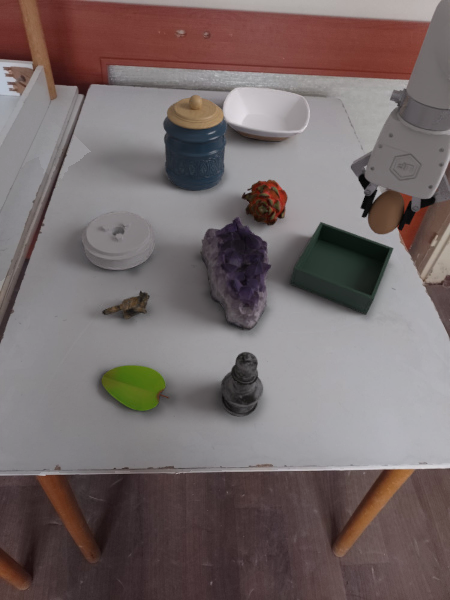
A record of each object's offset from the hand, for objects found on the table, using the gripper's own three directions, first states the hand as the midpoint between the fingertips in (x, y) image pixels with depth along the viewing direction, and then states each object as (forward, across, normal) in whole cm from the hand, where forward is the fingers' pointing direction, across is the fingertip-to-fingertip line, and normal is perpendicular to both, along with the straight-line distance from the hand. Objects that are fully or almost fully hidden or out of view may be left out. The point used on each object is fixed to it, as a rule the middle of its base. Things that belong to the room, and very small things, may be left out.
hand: (383, 218), depth 72 cm
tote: (+14, -4, -1) cm, 14 cm away
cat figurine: (+14, -32, -28) cm, 44 cm away
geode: (+14, -18, -13) cm, 27 cm away
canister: (+14, -41, +12) cm, 46 cm away
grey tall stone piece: (+14, -8, -33) cm, 37 cm away
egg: (+3, 0, 0) cm, 3 cm away
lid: (+14, -42, -16) cm, 47 cm away
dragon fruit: (+14, -22, +7) cm, 28 cm away
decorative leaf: (+14, -22, -39) cm, 47 cm away
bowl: (+14, -36, +39) cm, 55 cm away
